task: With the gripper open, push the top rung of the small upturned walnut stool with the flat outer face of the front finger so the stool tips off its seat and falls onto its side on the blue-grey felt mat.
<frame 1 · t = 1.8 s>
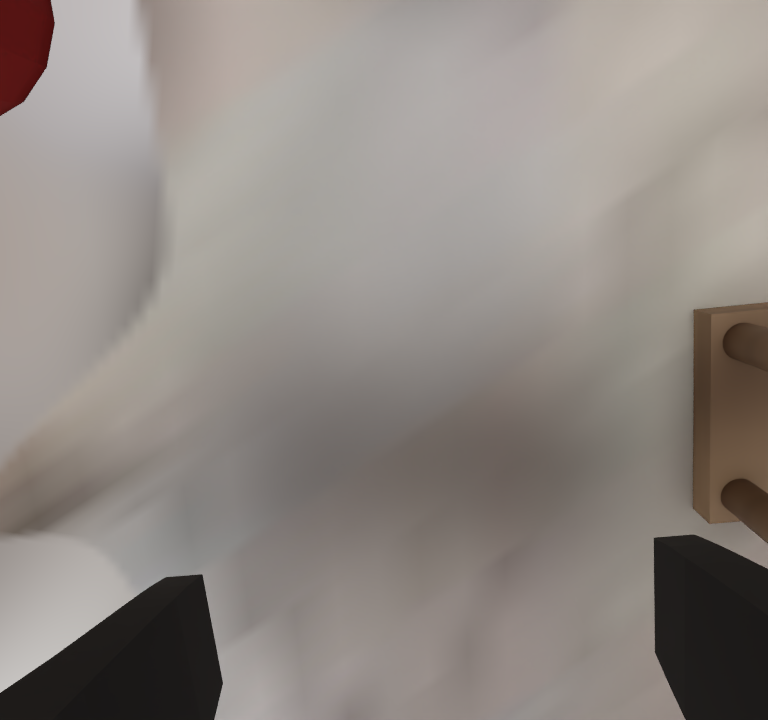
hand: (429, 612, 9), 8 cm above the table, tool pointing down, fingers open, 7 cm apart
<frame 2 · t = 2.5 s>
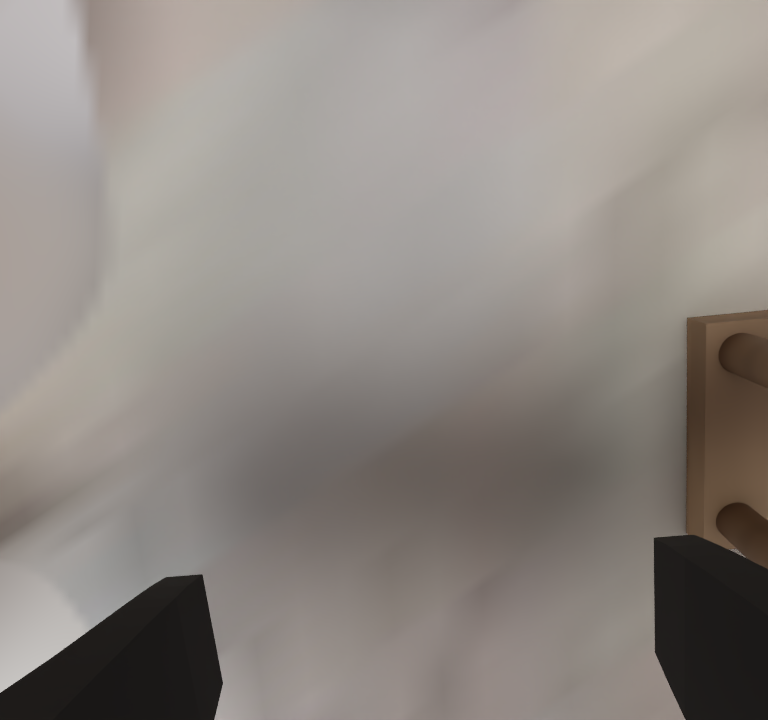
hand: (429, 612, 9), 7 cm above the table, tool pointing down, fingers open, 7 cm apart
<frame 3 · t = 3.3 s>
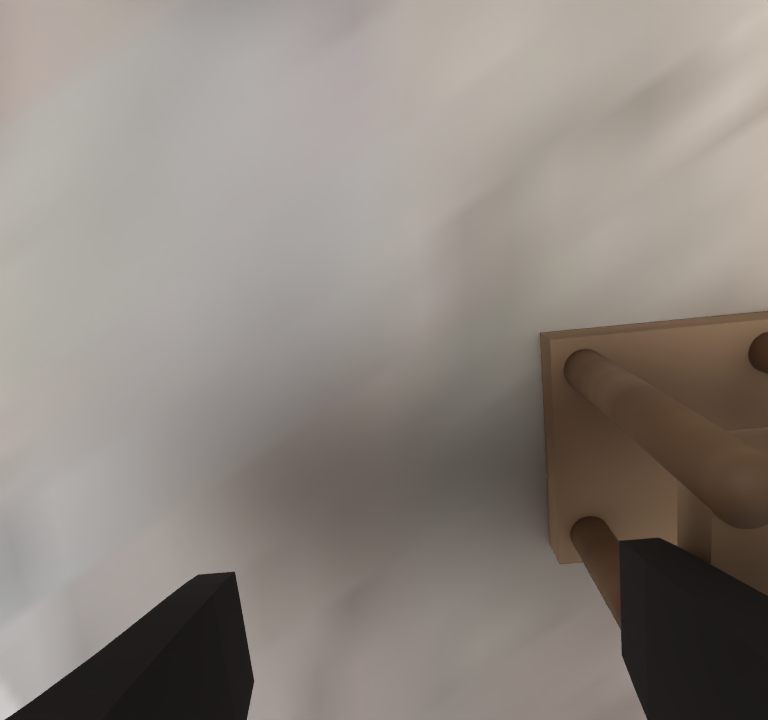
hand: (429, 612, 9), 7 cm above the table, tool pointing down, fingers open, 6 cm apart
stool: (659, 432, 16), on the table, touching gripper
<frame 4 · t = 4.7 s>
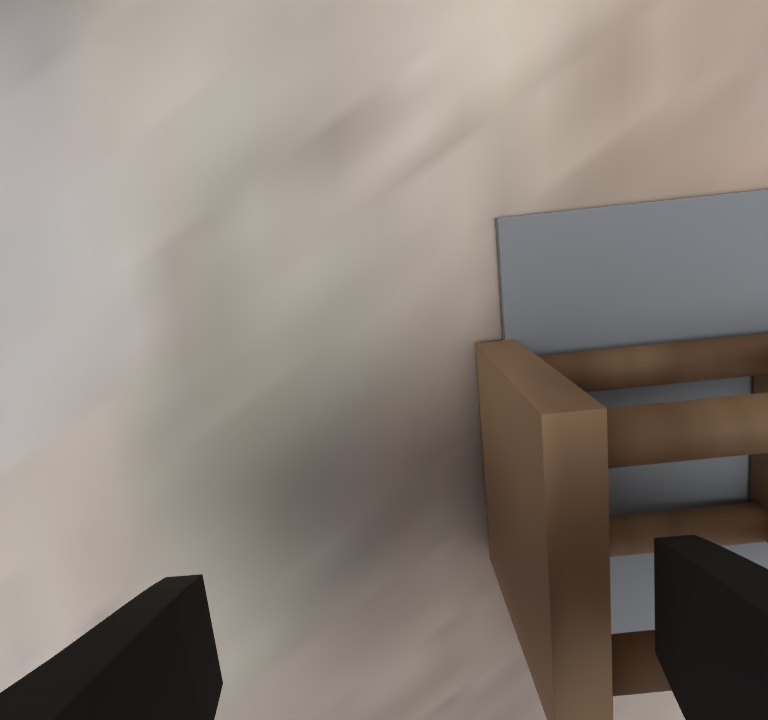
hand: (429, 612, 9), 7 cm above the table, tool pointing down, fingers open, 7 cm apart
stool: (508, 507, 13), point 3 cm above the table, tilted 92°, touching felt mat
felt mat: (670, 432, 16), on the table
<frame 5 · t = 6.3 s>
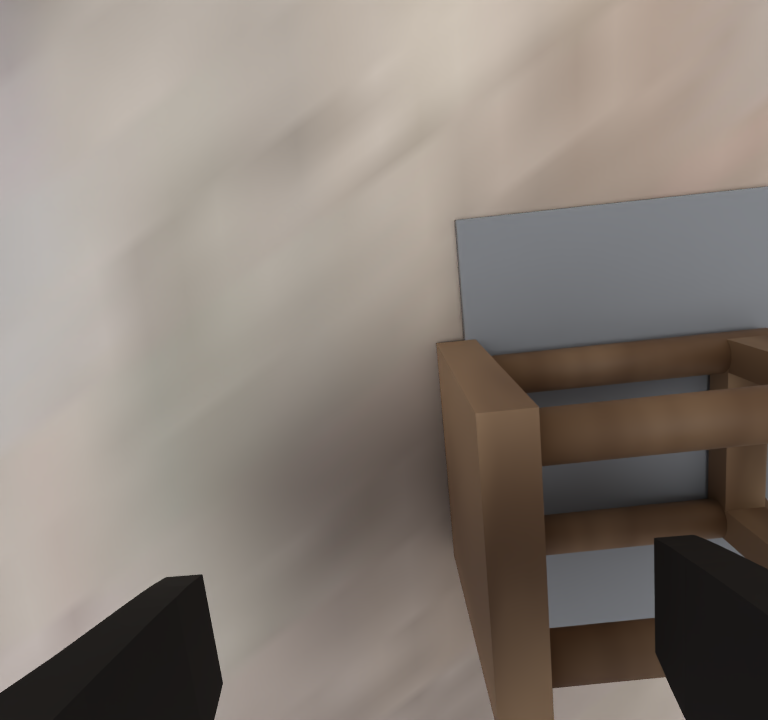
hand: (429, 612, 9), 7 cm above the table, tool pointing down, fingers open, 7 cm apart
stool: (461, 504, 13), point 3 cm above the table, tilted 92°, touching felt mat
felt mat: (630, 430, 16), on the table
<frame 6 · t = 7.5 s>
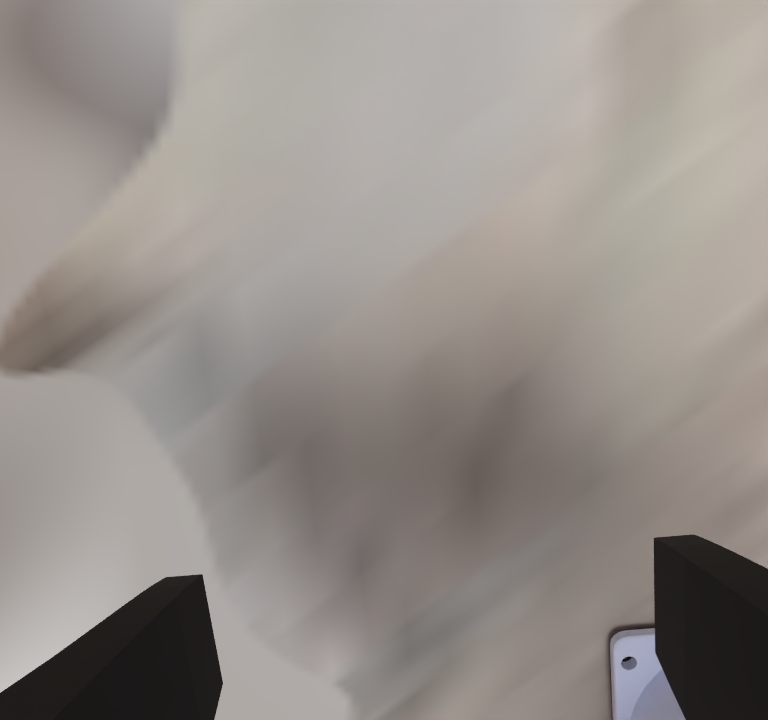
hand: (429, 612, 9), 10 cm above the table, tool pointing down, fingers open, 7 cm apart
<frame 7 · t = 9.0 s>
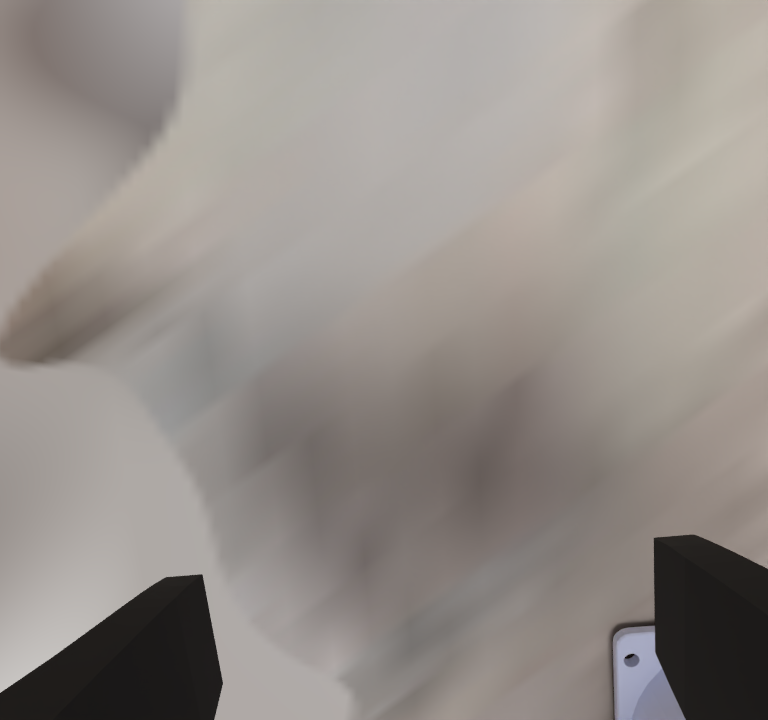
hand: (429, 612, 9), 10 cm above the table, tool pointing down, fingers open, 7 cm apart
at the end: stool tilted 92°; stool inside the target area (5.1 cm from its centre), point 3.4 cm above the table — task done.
